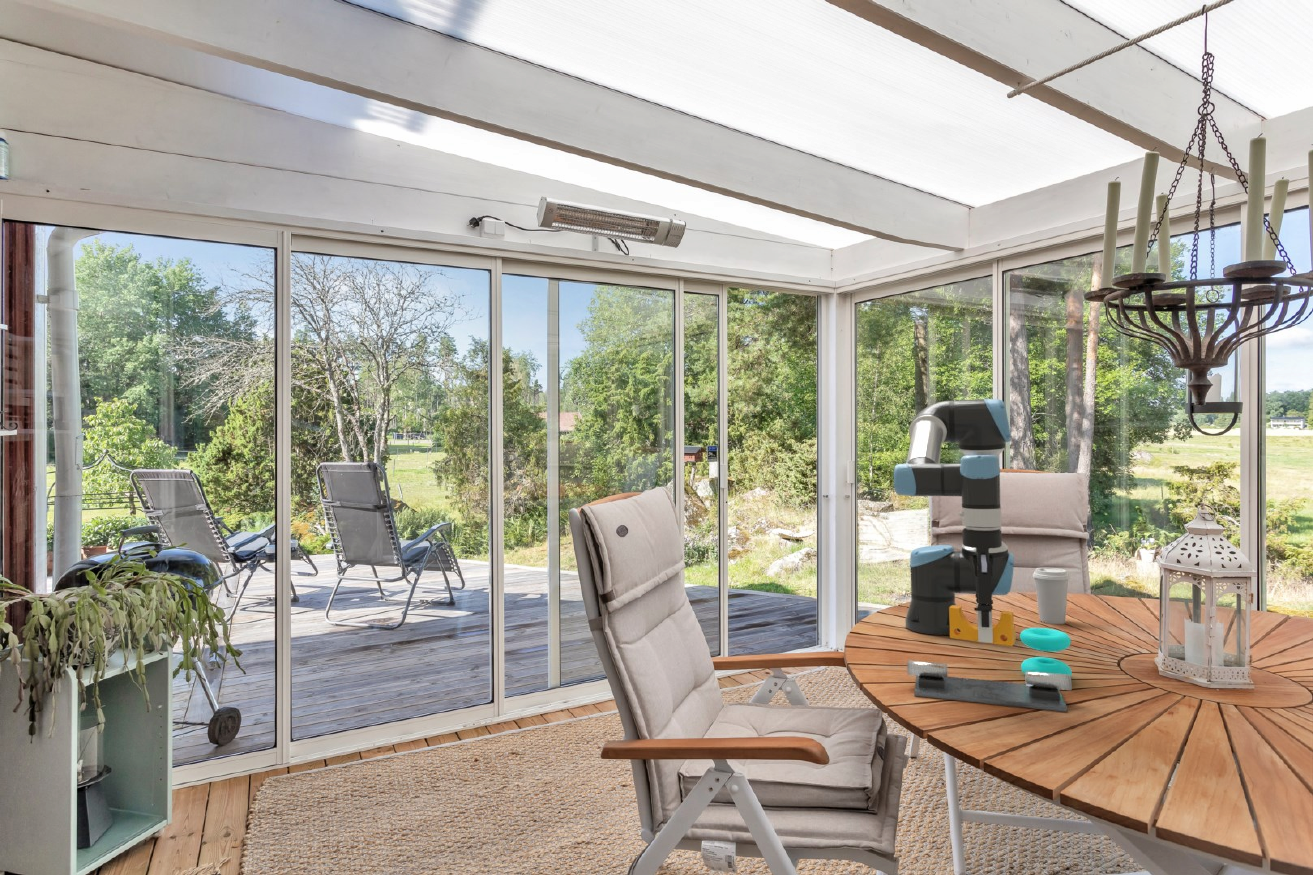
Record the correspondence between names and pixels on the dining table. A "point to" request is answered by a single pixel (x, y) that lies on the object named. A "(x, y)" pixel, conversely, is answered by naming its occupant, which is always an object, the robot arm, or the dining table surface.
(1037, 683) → the shaft stand
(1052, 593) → the coffee cup
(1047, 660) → the donuts
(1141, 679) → the dining table surface
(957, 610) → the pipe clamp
